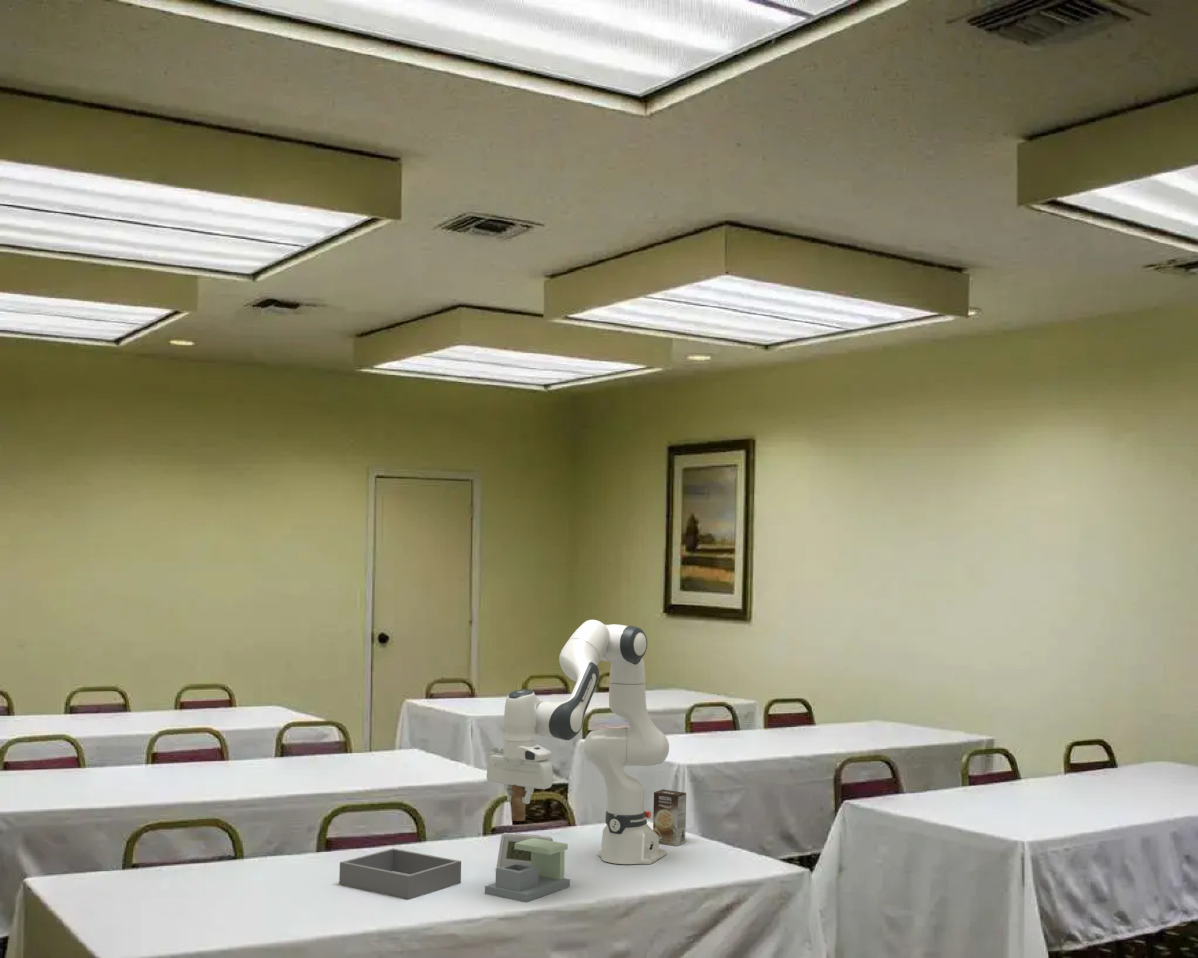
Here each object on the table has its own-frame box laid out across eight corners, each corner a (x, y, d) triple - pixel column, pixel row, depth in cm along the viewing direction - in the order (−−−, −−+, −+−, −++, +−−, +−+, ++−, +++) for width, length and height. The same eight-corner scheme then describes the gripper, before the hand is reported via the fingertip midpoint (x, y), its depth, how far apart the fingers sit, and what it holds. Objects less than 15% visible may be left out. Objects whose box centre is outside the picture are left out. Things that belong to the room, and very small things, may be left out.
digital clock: (493, 871, 370) (493, 834, 370) (510, 865, 378) (511, 829, 378) (540, 880, 362) (540, 841, 362) (557, 873, 369) (558, 836, 370)
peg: (509, 819, 347) (509, 774, 348) (517, 817, 350) (517, 773, 351) (519, 821, 345) (520, 776, 346) (527, 819, 348) (528, 774, 349)
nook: (529, 878, 362) (530, 837, 363) (569, 886, 355) (570, 844, 355) (484, 893, 346) (485, 850, 347) (526, 901, 338) (527, 857, 339)
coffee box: (651, 842, 411) (652, 791, 412) (661, 838, 416) (662, 788, 417) (676, 846, 406) (677, 794, 407) (686, 842, 411) (687, 792, 412)
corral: (392, 869, 371) (393, 848, 371) (460, 882, 357) (461, 860, 357) (339, 884, 353) (339, 862, 353) (408, 899, 339) (409, 876, 339)
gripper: (482, 748, 352) (481, 799, 351) (542, 755, 340) (541, 808, 339) (496, 745, 357) (495, 796, 356) (556, 752, 346) (555, 804, 345)
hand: (518, 802), depth 348 cm, fingers closed on peg, 4 cm apart
